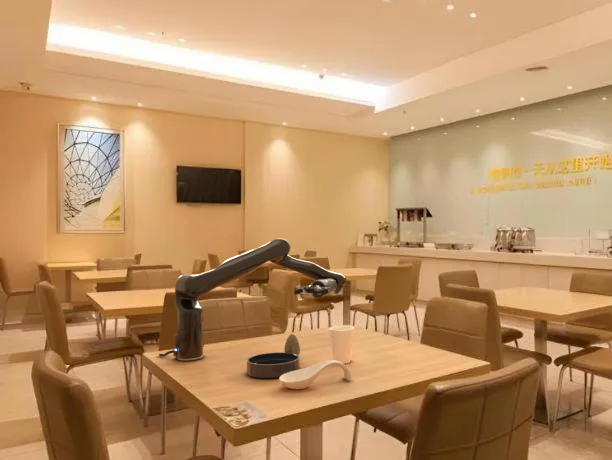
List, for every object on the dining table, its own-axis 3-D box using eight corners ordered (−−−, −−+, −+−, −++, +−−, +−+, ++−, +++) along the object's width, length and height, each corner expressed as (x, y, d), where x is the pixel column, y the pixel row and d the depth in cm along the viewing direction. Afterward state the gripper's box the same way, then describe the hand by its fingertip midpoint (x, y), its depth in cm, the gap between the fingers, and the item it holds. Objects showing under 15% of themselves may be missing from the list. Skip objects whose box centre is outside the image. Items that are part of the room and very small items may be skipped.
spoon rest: (284, 394, 164) (284, 371, 164) (274, 385, 174) (274, 363, 174) (355, 383, 176) (355, 362, 176) (342, 375, 186) (342, 354, 186)
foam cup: (324, 361, 205) (324, 328, 204) (343, 357, 211) (343, 325, 211) (340, 366, 198) (340, 331, 198) (358, 361, 205) (358, 328, 205)
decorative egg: (299, 361, 205) (299, 335, 205) (283, 361, 204) (283, 336, 204) (300, 357, 211) (300, 332, 211) (285, 358, 210) (285, 333, 210)
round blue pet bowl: (236, 377, 183) (236, 363, 183) (263, 364, 201) (264, 351, 201) (284, 381, 179) (284, 366, 179) (308, 367, 196) (308, 354, 196)
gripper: (306, 279, 235) (289, 282, 220) (336, 279, 232) (320, 283, 216) (306, 295, 236) (289, 301, 220) (336, 296, 232) (320, 302, 216)
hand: (305, 292), depth 218 cm, fingers open, 8 cm apart
